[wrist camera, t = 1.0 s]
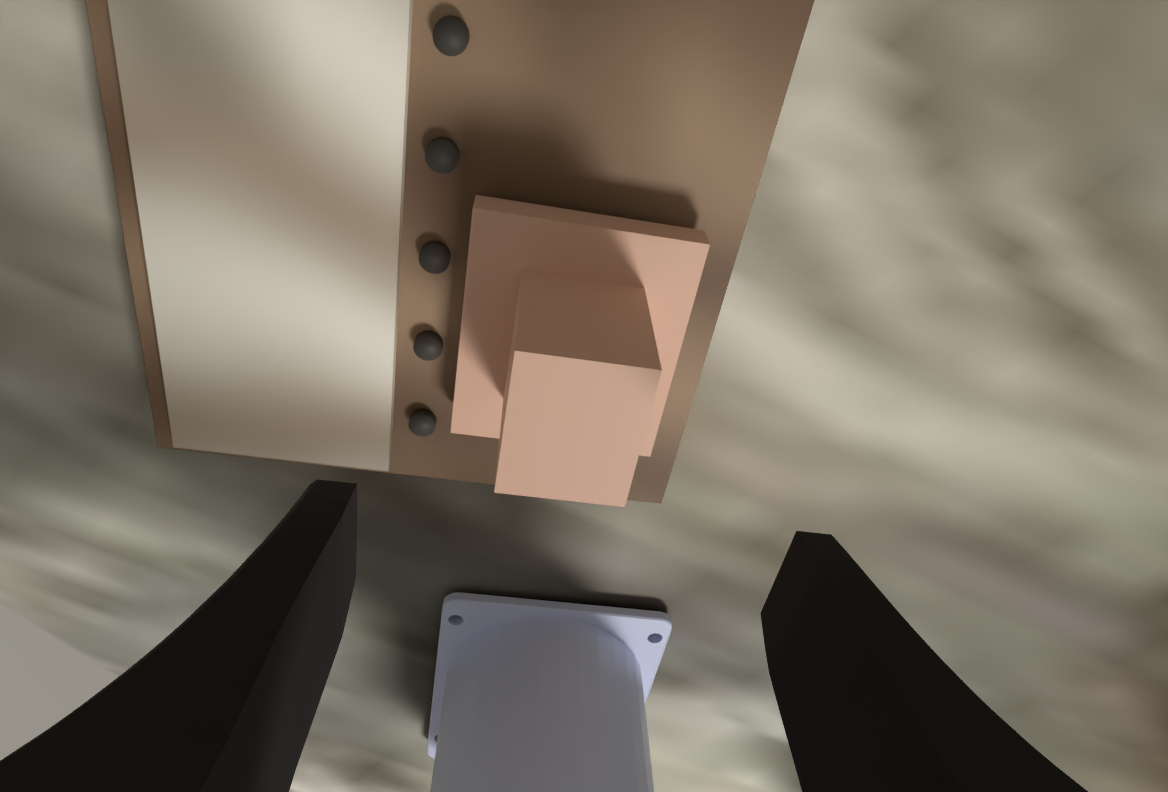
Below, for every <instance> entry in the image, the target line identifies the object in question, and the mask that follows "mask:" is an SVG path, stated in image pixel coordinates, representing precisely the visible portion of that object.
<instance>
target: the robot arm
mask: <svg viewBox="0 0 1168 792" xmlns="http://www.w3.org/2000/svg"><path fill="white" fill-rule="evenodd" d="M356 533H357V484H353V483H343V482H334V481H325V480H316V481H315V482H313V483H312V484H310V485H309V486H308V488H307V489H306V490H305V492H304V493H303V494H302V496H301V497H300V498H299V500H298V501H297V502H296V503H295V505H294V506H293V507H292V508H291V510H290V511H289V512H288V513H287V514H286V516H285V517H284V518H283V519H282V520H281V522H280V523H279V524H278V525H277V526H276V527H275V529H274V530H273V531H272V532H271V533H270V534H269V535H268V537H267V538H266V539H265V540H264V541H263V542H262V543H261V544H260V546H259V547H258V548H257V549H256V550H255V551H254V552H253V553H252V554H251V555H250V556H249V557H248V558H247V560H246V561H245V562H244V563H243V564H242V565H241V566H240V567H239V568H238V569H237V570H236V571H235V572H234V574H233V575H232V576H231V577H230V578H229V579H228V580H227V581H226V582H225V583H224V584H223V585H222V586H221V587H220V588H219V589H217V590H216V591H215V592H214V593H213V594H212V595H211V596H210V597H209V598H208V599H207V600H206V601H205V602H204V603H203V604H202V605H201V606H200V607H199V608H198V609H197V610H196V611H195V612H194V613H193V614H192V615H191V616H190V617H188V618H187V619H186V620H185V621H184V622H183V623H182V624H181V625H180V626H179V627H178V628H176V629H175V630H174V631H173V632H172V633H171V634H170V635H169V636H167V637H166V638H165V639H164V640H163V641H162V642H161V643H159V644H158V645H157V646H156V647H155V648H154V649H152V650H151V651H150V652H149V653H148V654H146V655H145V656H144V657H143V658H142V659H140V660H139V661H138V662H137V663H135V664H134V665H133V666H132V667H131V668H129V669H128V670H127V671H126V672H124V673H123V674H122V675H121V676H119V677H118V678H117V679H115V680H114V681H113V682H111V683H110V684H109V685H108V686H106V687H105V688H104V689H102V690H101V691H100V692H98V693H97V694H96V695H94V696H93V697H92V698H90V699H89V700H88V701H87V702H85V703H84V704H83V705H81V706H80V707H79V708H77V709H76V710H74V711H73V712H72V713H70V714H69V715H68V716H66V717H65V718H63V719H62V720H61V721H59V722H58V723H56V724H55V725H54V726H52V727H51V728H50V729H48V730H46V731H45V732H43V733H42V734H40V735H39V736H37V737H36V738H34V739H33V740H31V741H30V742H28V743H27V744H25V745H23V746H22V747H21V748H19V749H17V750H16V751H14V752H13V753H11V754H10V755H8V756H7V757H5V758H4V759H3V760H1V761H0V792H289V789H290V786H291V783H292V780H293V776H294V773H295V770H296V767H297V764H298V761H299V758H300V755H301V753H302V750H303V747H304V744H305V741H306V738H307V736H308V733H309V730H310V727H311V724H312V721H313V718H314V716H315V713H316V710H317V707H318V704H319V701H320V698H321V696H322V693H323V690H324V687H325V684H326V681H327V679H328V676H329V673H330V670H331V667H332V664H333V661H334V658H335V655H336V653H337V650H338V647H339V644H340V641H341V638H342V635H343V631H344V626H345V622H346V618H347V613H348V609H349V605H350V600H351V596H352V591H353V587H354V582H355V578H356ZM454 615H458V616H454ZM761 620H762V627H763V635H764V643H765V650H766V656H767V662H768V668H769V673H770V677H771V681H772V685H773V689H774V692H775V696H776V700H777V703H778V707H779V710H780V714H781V718H782V721H783V725H784V728H785V732H786V735H787V739H788V743H789V746H790V750H791V753H792V757H793V760H794V764H795V767H796V771H797V774H798V778H799V781H800V785H801V789H802V792H1088V791H1086V790H1085V789H1084V788H1083V787H1081V786H1080V785H1079V784H1078V783H1076V782H1075V781H1074V780H1073V779H1071V778H1070V777H1069V776H1068V775H1066V774H1065V773H1064V772H1063V771H1061V770H1060V769H1059V768H1058V767H1056V766H1055V765H1054V764H1053V763H1051V762H1050V761H1049V760H1048V759H1047V758H1046V757H1044V756H1043V755H1042V754H1041V753H1040V752H1038V751H1037V750H1036V749H1035V748H1034V747H1033V746H1031V745H1030V744H1029V743H1028V742H1027V741H1026V740H1025V739H1024V738H1022V737H1021V736H1020V735H1019V734H1018V733H1017V732H1016V731H1015V730H1014V729H1012V728H1011V727H1010V726H1009V725H1008V724H1007V723H1006V722H1005V721H1004V720H1002V719H1001V718H1000V717H999V716H998V715H997V714H996V713H995V712H994V711H993V710H991V709H990V708H989V707H988V706H987V705H986V704H985V703H984V702H983V701H982V700H981V699H980V698H979V697H978V696H977V695H976V694H975V693H974V692H973V691H972V690H971V689H970V688H969V687H968V686H967V685H966V684H965V683H964V682H963V681H962V680H961V679H960V678H959V677H958V676H957V675H956V674H955V673H954V672H953V671H952V670H951V669H950V668H949V667H948V666H947V665H946V664H945V663H944V662H943V661H942V660H941V658H940V657H939V656H938V655H937V654H936V653H935V652H934V651H933V650H932V649H931V648H930V647H929V646H928V645H927V643H926V642H925V641H924V640H923V639H922V638H921V637H920V636H919V635H918V634H917V632H916V631H915V630H914V629H913V628H912V627H911V626H910V625H909V624H908V622H907V621H906V620H905V619H904V618H903V617H902V616H901V615H900V613H899V612H898V611H897V610H896V609H895V608H894V606H893V605H892V604H891V603H890V602H889V601H888V600H887V598H886V597H885V596H884V595H883V594H882V593H881V591H880V590H879V589H878V588H877V587H876V586H875V584H874V583H873V582H872V581H871V580H870V579H869V577H868V576H867V575H866V574H865V573H864V571H863V570H862V569H861V568H860V567H859V566H858V564H857V563H856V562H855V561H854V560H853V559H852V557H851V556H850V555H849V554H848V553H847V552H846V550H845V549H844V548H843V547H842V546H841V545H840V544H839V543H838V541H837V540H836V539H835V538H834V537H833V536H832V535H830V534H820V533H811V532H802V531H796V533H795V536H794V538H793V540H792V543H791V545H790V547H789V549H788V552H787V554H786V556H785V559H784V561H783V563H782V565H781V568H780V570H779V572H778V575H777V577H776V579H775V581H774V584H773V586H772V588H771V591H770V593H769V595H768V598H767V600H766V602H765V604H764V607H763V609H762V611H761ZM671 630H672V622H671V618H670V616H669V615H668V614H666V613H664V612H660V611H650V610H640V609H629V608H618V607H608V606H597V605H587V604H576V603H566V602H555V601H545V600H534V599H524V598H513V597H503V596H492V595H482V594H471V593H460V592H456V593H451V594H448V595H447V596H446V597H445V598H444V601H443V606H442V615H441V624H440V633H439V643H438V652H437V661H436V670H435V680H434V689H433V698H432V707H431V716H430V726H429V735H428V744H427V754H428V755H429V756H430V757H432V758H434V759H435V761H434V769H433V776H432V784H431V791H430V792H654V786H653V776H652V767H651V758H650V748H649V739H648V730H647V720H646V711H645V703H646V700H647V697H648V695H649V692H650V689H651V686H652V683H653V681H654V678H655V675H656V672H657V669H658V667H659V664H660V661H661V658H662V655H663V652H664V650H665V647H666V644H667V641H668V638H669V636H670V633H671ZM654 633H657V634H654Z"/></svg>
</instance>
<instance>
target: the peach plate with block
mask: <svg viewBox="0 0 1168 792" xmlns="http://www.w3.org/2000/svg"><path fill="white" fill-rule="evenodd" d="M709 247H710V243H709V241H708V238H707V236H706V233H705V231H704V230H698V229H691V228H685V227H679V226H672V225H666V224H659V223H653V222H647V221H640V220H634V219H627V218H621V217H615V216H608V215H602V214H596V213H589V212H583V211H576V210H570V209H564V208H557V207H551V206H544V205H538V204H532V203H525V202H519V201H513V200H506V199H500V198H493V197H487V196H481V195H476V196H475V200H474V205H473V210H472V220H471V230H470V240H469V250H468V261H467V271H466V281H465V291H464V301H463V311H462V321H461V331H460V341H459V351H458V362H457V372H456V382H455V392H454V402H453V412H452V422H451V432H450V433H456V434H464V435H473V436H481V437H489V438H498V439H499V448H498V459H497V469H496V479H495V489H494V493H502V494H511V495H520V496H529V497H538V498H547V499H556V500H565V501H574V502H583V503H592V504H601V505H610V506H619V507H625V505H626V501H627V497H628V494H629V490H630V486H631V483H632V479H633V475H634V472H635V468H636V464H637V461H638V457H639V455H640V456H649V457H650V456H651V453H652V449H653V446H654V442H655V439H656V435H657V431H658V428H659V424H660V421H661V417H662V414H663V410H664V407H665V403H666V399H667V396H668V392H669V389H670V385H671V382H672V378H673V375H674V371H675V367H676V364H677V360H678V357H679V353H680V350H681V346H682V343H683V339H684V336H685V332H686V328H687V325H688V321H689V318H690V314H691V311H692V307H693V304H694V300H695V296H696V293H697V289H698V286H699V282H700V279H701V275H702V272H703V268H704V264H705V261H706V257H707V254H708V250H709Z"/></svg>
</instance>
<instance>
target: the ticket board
mask: <svg viewBox="0 0 1168 792" xmlns="http://www.w3.org/2000/svg"><path fill="white" fill-rule="evenodd" d="M813 3H814V0H86V6H87V12H88V18H89V25H90V31H91V37H92V43H93V49H94V55H95V62H96V68H97V74H98V80H99V86H100V93H101V99H102V105H103V111H104V117H105V123H106V130H107V136H108V142H109V148H110V154H111V161H112V167H113V173H114V179H115V185H116V192H117V198H118V204H119V210H120V216H121V222H122V229H123V235H124V241H125V247H126V253H127V260H128V266H129V272H130V278H131V284H132V290H133V297H134V303H135V309H136V315H137V321H138V328H139V334H140V340H141V346H142V352H143V358H144V365H145V371H146V377H147V383H148V389H149V396H150V402H151V408H152V414H153V420H154V427H155V433H156V439H157V445H158V447H161V448H170V449H179V450H188V451H197V452H206V453H215V454H224V455H233V456H242V457H251V458H259V459H268V460H277V461H286V462H295V463H304V464H313V465H322V466H331V467H340V468H349V469H358V470H367V471H375V472H384V473H393V474H402V475H411V476H420V477H429V478H438V479H447V480H456V481H465V482H474V483H482V484H491V485H495V479H496V469H497V459H498V448H499V439H498V438H489V437H481V436H473V435H464V434H456V433H450V432H451V422H452V412H453V402H454V392H455V382H456V372H457V362H458V351H459V341H460V331H461V321H462V311H463V301H464V291H465V281H466V271H467V261H468V250H469V240H470V230H471V220H472V210H473V205H474V200H475V196H476V195H481V196H487V197H493V198H500V199H506V200H513V201H519V202H525V203H532V204H538V205H544V206H551V207H557V208H564V209H570V210H576V211H583V212H589V213H596V214H602V215H608V216H615V217H621V218H627V219H634V220H640V221H647V222H653V223H659V224H666V225H672V226H679V227H685V228H691V229H698V230H704V231H705V233H706V236H707V238H708V241H709V243H710V247H709V250H708V254H707V257H706V261H705V264H704V268H703V272H702V275H701V279H700V282H699V286H698V289H697V293H696V296H695V300H694V304H693V307H692V311H691V314H690V318H689V321H688V325H687V328H686V332H685V336H684V339H683V343H682V346H681V350H680V353H679V357H678V360H677V364H676V367H675V371H674V375H673V378H672V382H671V385H670V389H669V392H668V396H667V399H666V403H665V407H664V410H663V414H662V417H661V421H660V424H659V428H658V431H657V435H656V439H655V442H654V446H653V449H652V453H651V456H650V457H649V456H640V455H639V457H638V461H637V464H636V468H635V472H634V475H633V479H632V483H631V486H630V490H629V494H628V497H627V500H634V501H643V502H652V503H662V499H663V496H664V493H665V490H666V486H667V483H668V480H669V476H670V473H671V470H672V467H673V463H674V460H675V457H676V453H677V450H678V447H679V444H680V440H681V437H682V434H683V430H684V427H685V424H686V421H687V417H688V414H689V411H690V407H691V404H692V401H693V398H694V394H695V391H696V388H697V384H698V381H699V378H700V375H701V371H702V368H703V365H704V361H705V358H706V355H707V352H708V348H709V345H710V342H711V338H712V335H713V332H714V329H715V325H716V322H717V319H718V315H719V312H720V309H721V306H722V302H723V299H724V296H725V292H726V289H727V286H728V283H729V279H730V276H731V273H732V269H733V266H734V263H735V260H736V256H737V253H738V250H739V246H740V243H741V240H742V237H743V233H744V230H745V227H746V223H747V220H748V217H749V214H750V210H751V207H752V204H753V200H754V197H755V194H756V190H757V187H758V184H759V181H760V177H761V174H762V171H763V167H764V164H765V161H766V158H767V154H768V151H769V148H770V144H771V141H772V138H773V135H774V131H775V128H776V125H777V121H778V118H779V115H780V112H781V108H782V105H783V102H784V98H785V95H786V92H787V89H788V85H789V82H790V79H791V75H792V72H793V69H794V66H795V62H796V59H797V56H798V52H799V49H800V46H801V43H802V39H803V36H804V33H805V29H806V26H807V23H808V20H809V16H810V13H811V10H812V6H813Z"/></svg>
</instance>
